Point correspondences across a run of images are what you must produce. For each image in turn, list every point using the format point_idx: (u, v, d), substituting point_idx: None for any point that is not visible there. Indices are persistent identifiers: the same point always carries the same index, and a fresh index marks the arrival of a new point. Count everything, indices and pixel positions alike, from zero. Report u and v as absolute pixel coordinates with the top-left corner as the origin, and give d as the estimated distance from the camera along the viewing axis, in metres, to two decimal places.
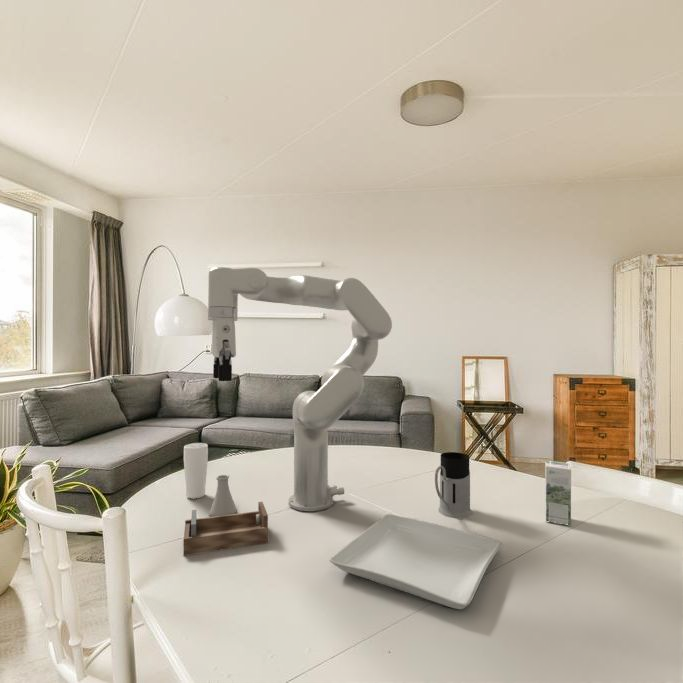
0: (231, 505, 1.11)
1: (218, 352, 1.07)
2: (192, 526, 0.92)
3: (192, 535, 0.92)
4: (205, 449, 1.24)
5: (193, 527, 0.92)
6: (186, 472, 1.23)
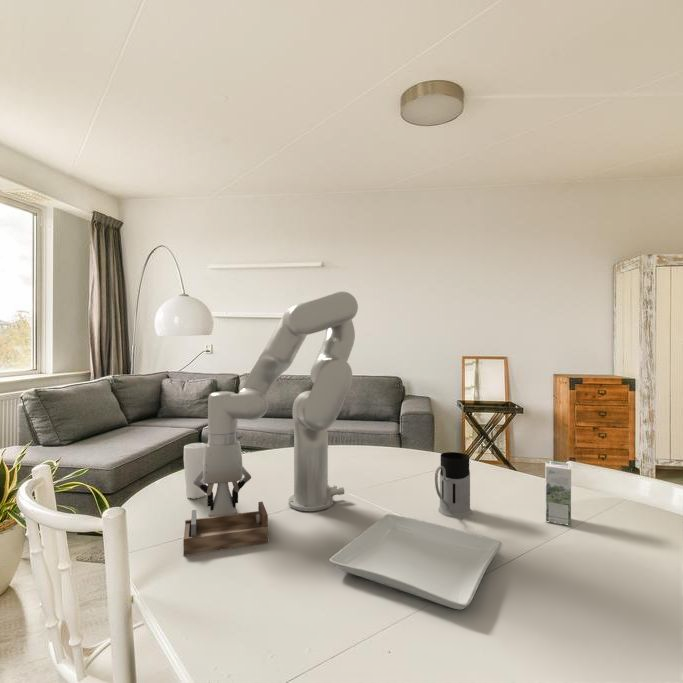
0: (231, 505, 1.11)
1: (241, 476, 1.12)
2: (192, 526, 0.92)
3: (192, 535, 0.92)
4: None
5: (193, 527, 0.92)
6: (186, 472, 1.23)
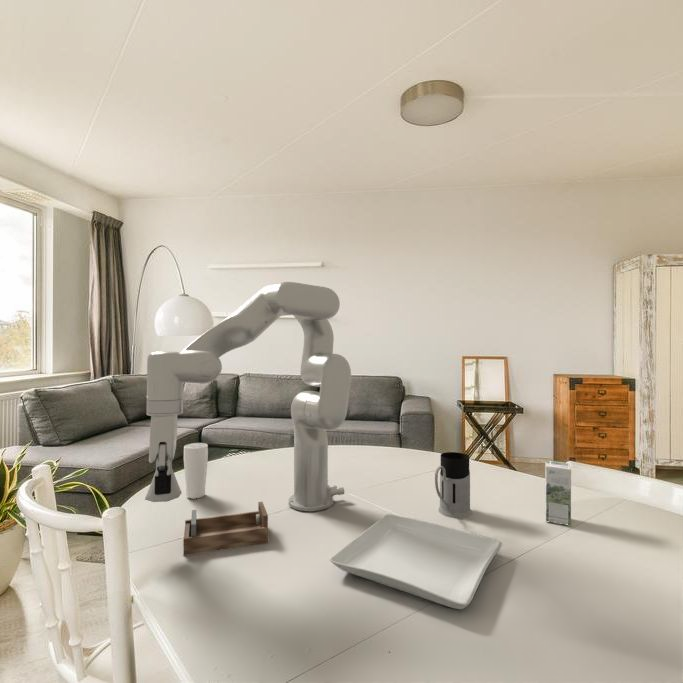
0: None
1: None
2: (192, 526, 0.92)
3: (192, 535, 0.92)
4: (205, 449, 1.24)
5: (193, 527, 0.92)
6: (186, 472, 1.23)
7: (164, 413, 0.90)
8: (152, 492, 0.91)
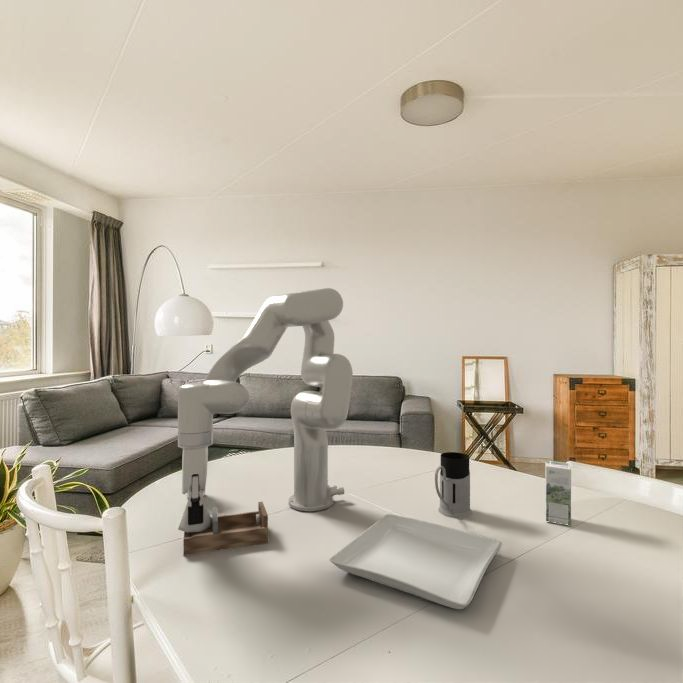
0: None
1: None
2: (214, 523, 0.93)
3: (214, 532, 0.93)
4: None
5: (215, 525, 0.93)
6: None
7: (196, 445, 0.92)
8: (185, 522, 0.93)
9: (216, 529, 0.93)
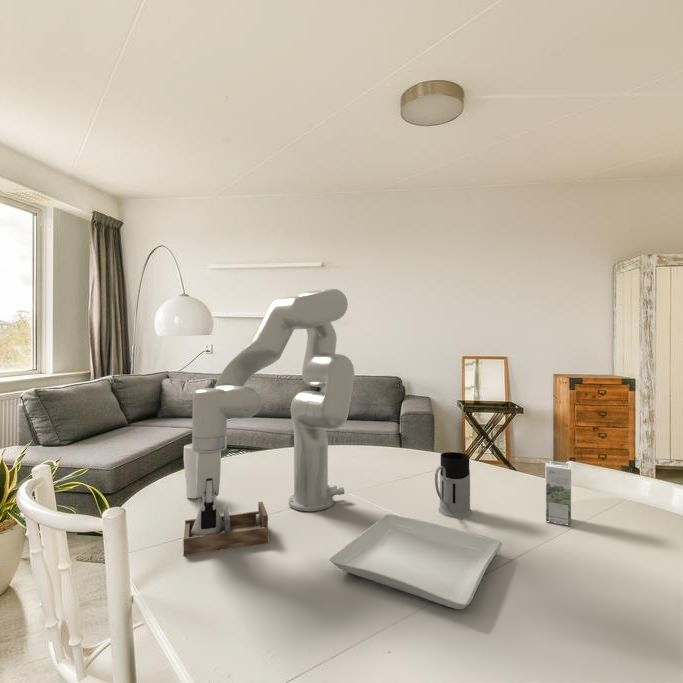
0: None
1: None
2: (226, 522, 0.94)
3: (226, 530, 0.94)
4: None
5: (227, 523, 0.94)
6: (186, 472, 1.23)
7: (210, 450, 0.93)
8: (198, 526, 0.94)
9: (228, 527, 0.94)
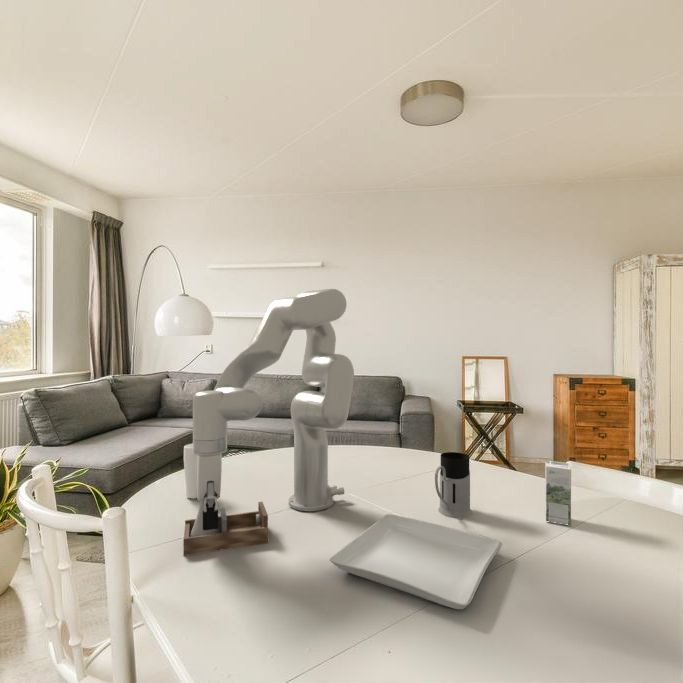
0: None
1: None
2: (223, 522, 0.94)
3: (223, 531, 0.94)
4: None
5: (224, 523, 0.94)
6: (186, 472, 1.23)
7: (211, 452, 0.93)
8: (197, 534, 0.94)
9: (225, 528, 0.94)
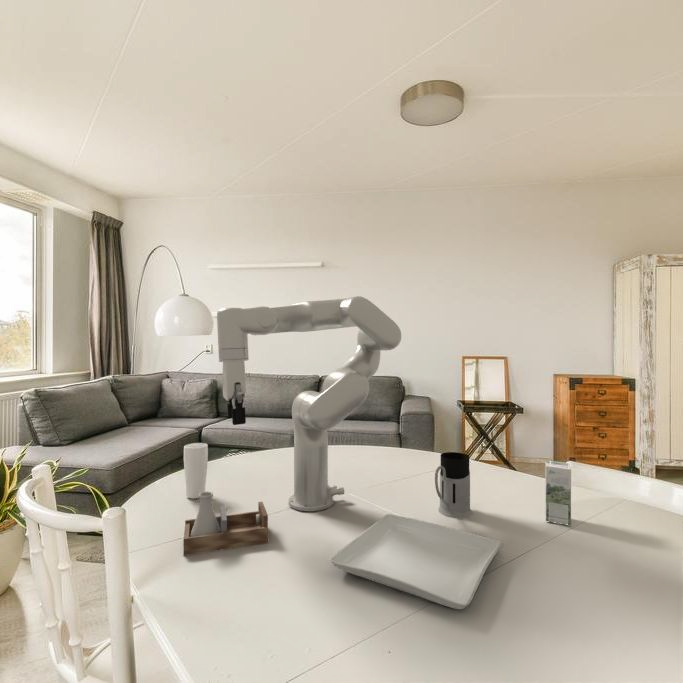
0: None
1: None
2: (223, 522, 0.94)
3: (223, 531, 0.94)
4: (205, 449, 1.24)
5: (224, 523, 0.94)
6: (186, 472, 1.23)
7: (236, 359, 1.07)
8: (197, 534, 0.94)
9: (225, 528, 0.94)
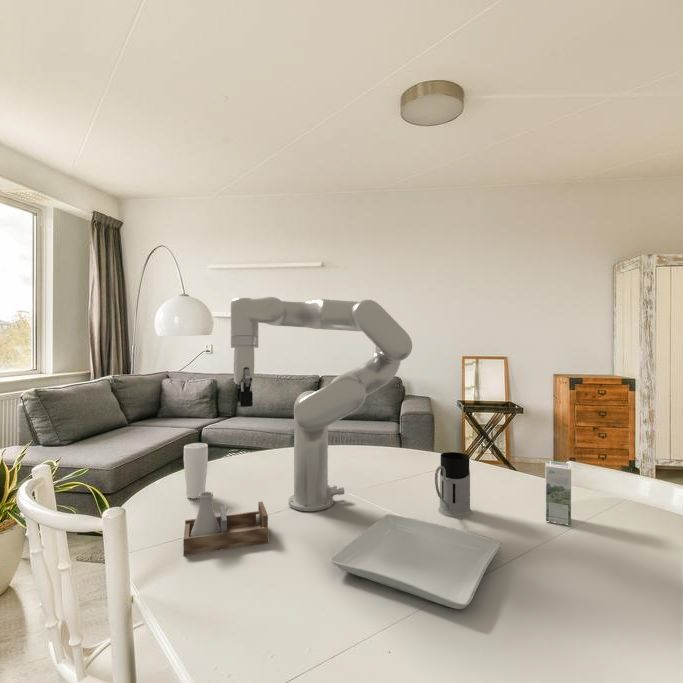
0: None
1: None
2: (223, 522, 0.94)
3: (223, 531, 0.94)
4: (205, 449, 1.24)
5: (224, 523, 0.94)
6: (186, 472, 1.23)
7: (246, 345, 1.14)
8: (197, 534, 0.94)
9: (225, 528, 0.94)
